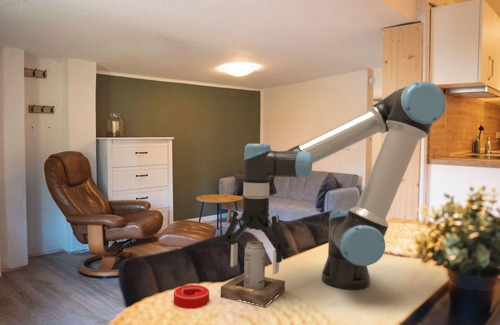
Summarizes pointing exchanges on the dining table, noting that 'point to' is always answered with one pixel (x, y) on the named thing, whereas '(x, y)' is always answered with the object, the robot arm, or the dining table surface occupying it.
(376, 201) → the robot arm
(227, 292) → the frame
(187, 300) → the decorative ornament
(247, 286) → the energy drink can
